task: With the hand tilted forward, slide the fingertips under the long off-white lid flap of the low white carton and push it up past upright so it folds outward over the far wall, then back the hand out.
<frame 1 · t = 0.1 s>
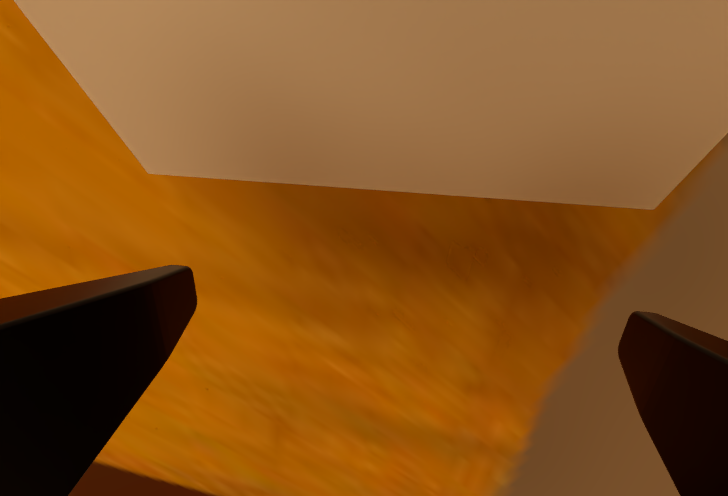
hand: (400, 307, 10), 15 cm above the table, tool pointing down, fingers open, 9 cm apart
flap: (387, 71, 14), point 8 cm above the table, hinge at 35.0°
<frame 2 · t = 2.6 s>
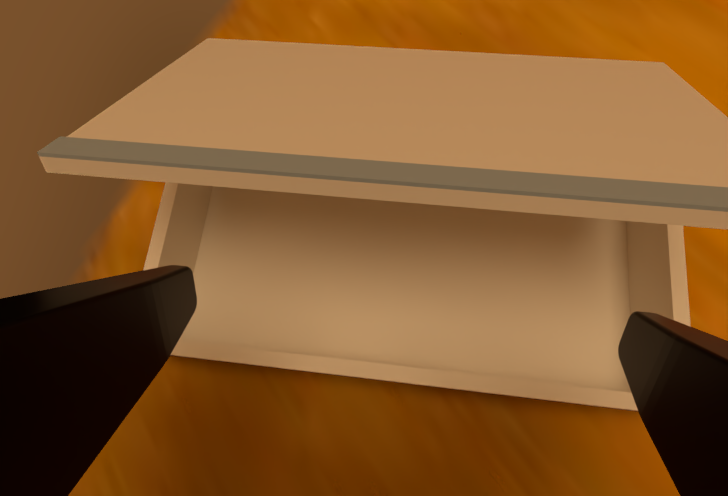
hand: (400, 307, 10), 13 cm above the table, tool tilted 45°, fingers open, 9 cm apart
flap: (420, 104, 17), point 8 cm above the table, hinge at 35.0°
carton: (407, 239, 24), on the table
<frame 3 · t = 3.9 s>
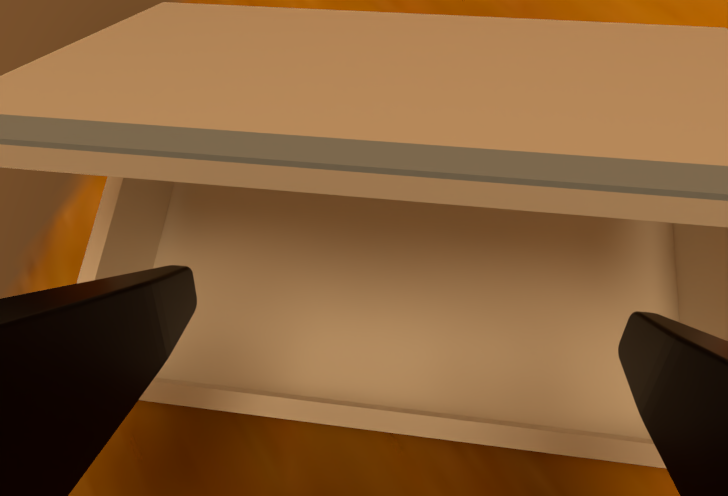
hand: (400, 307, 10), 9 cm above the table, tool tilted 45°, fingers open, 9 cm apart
flap: (422, 72, 13), point 8 cm above the table, hinge at 35.0°
carton: (406, 246, 20), on the table
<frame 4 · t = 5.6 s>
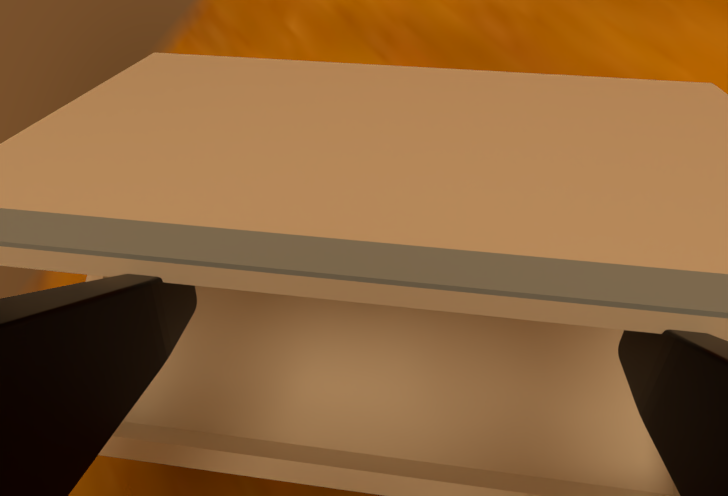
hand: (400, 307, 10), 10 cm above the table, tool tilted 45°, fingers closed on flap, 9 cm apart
flap: (407, 142, 13), point 8 cm above the table, hinge at 36.1°, touching gripper
carton: (397, 291, 20), on the table
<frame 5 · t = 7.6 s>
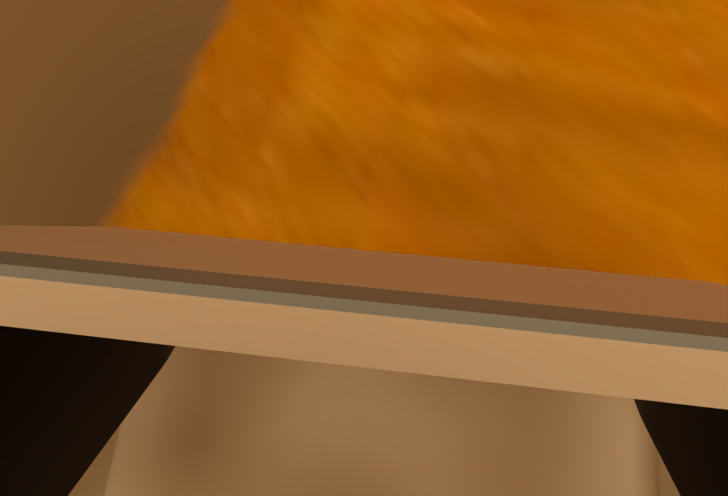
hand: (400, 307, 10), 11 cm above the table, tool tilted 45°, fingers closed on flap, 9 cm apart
flap: (381, 273, 10), point 10 cm above the table, hinge at 71.8°, touching gripper
carton: (373, 471, 18), on the table
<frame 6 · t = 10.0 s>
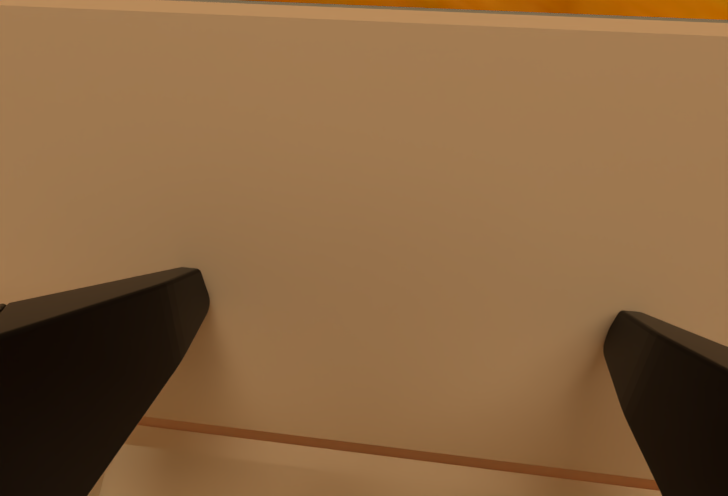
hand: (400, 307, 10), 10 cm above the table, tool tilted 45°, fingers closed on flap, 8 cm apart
flap: (391, 310, 10), point 9 cm above the table, hinge at 119.2°, touching gripper
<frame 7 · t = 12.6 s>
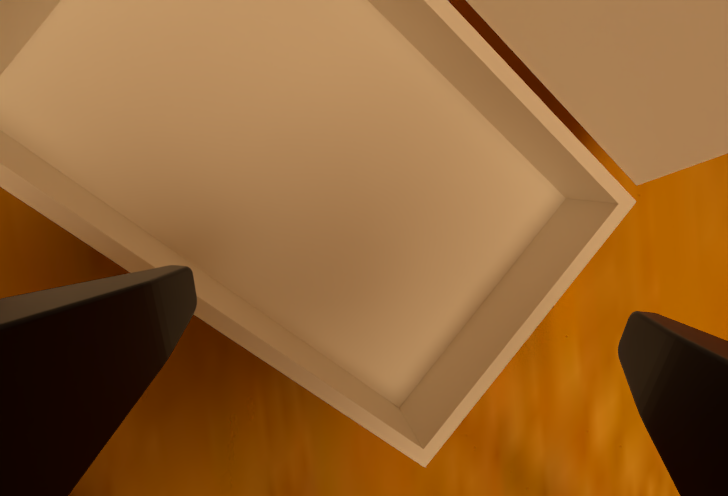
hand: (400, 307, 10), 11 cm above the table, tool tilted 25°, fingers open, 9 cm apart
carton: (311, 161, 20), on the table
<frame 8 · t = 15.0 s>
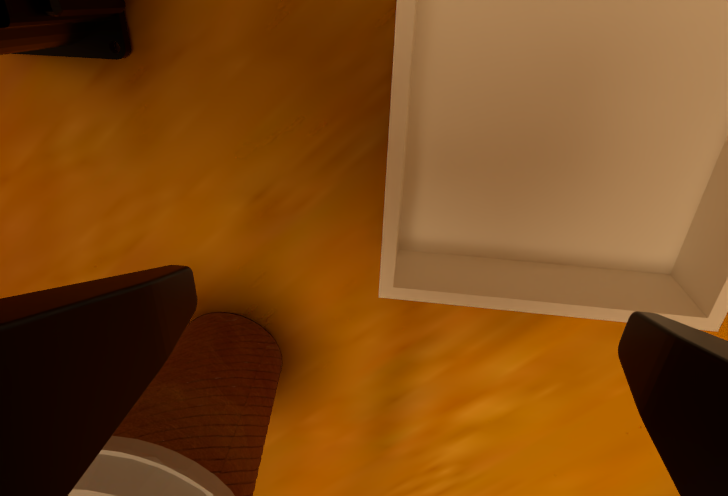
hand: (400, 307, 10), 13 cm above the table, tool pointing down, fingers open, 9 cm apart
disposable coffee cup: (233, 351, 29), on the table
carton: (583, 21, 18), on the table
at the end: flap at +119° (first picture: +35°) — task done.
